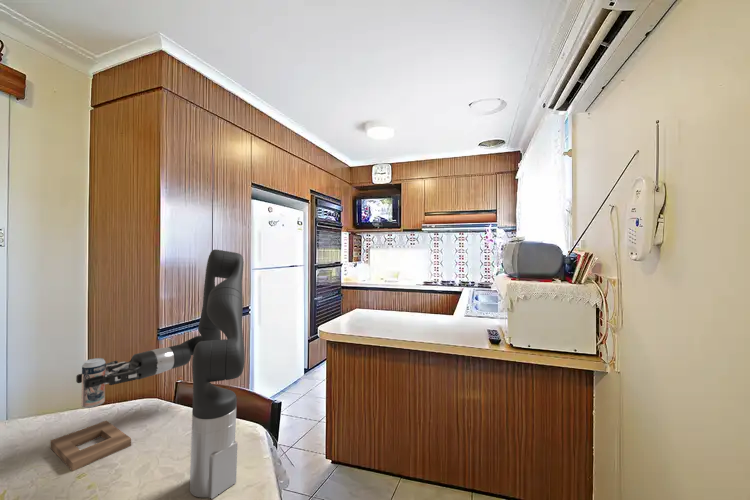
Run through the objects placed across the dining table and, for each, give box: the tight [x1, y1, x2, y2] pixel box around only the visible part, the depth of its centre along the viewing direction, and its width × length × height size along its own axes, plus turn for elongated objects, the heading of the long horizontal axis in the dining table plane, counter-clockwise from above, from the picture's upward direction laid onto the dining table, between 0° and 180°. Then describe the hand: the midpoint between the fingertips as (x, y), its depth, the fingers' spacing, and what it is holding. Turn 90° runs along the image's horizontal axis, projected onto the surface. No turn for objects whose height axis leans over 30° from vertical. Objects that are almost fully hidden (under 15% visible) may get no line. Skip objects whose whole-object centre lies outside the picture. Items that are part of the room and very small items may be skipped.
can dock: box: [49, 420, 132, 472], centre depth 86 cm, size 16×12×2 cm
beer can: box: [80, 357, 107, 409], centre depth 86 cm, size 5×5×12 cm
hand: (80, 381), depth 84 cm, fingers closed on beer can, 4 cm apart
